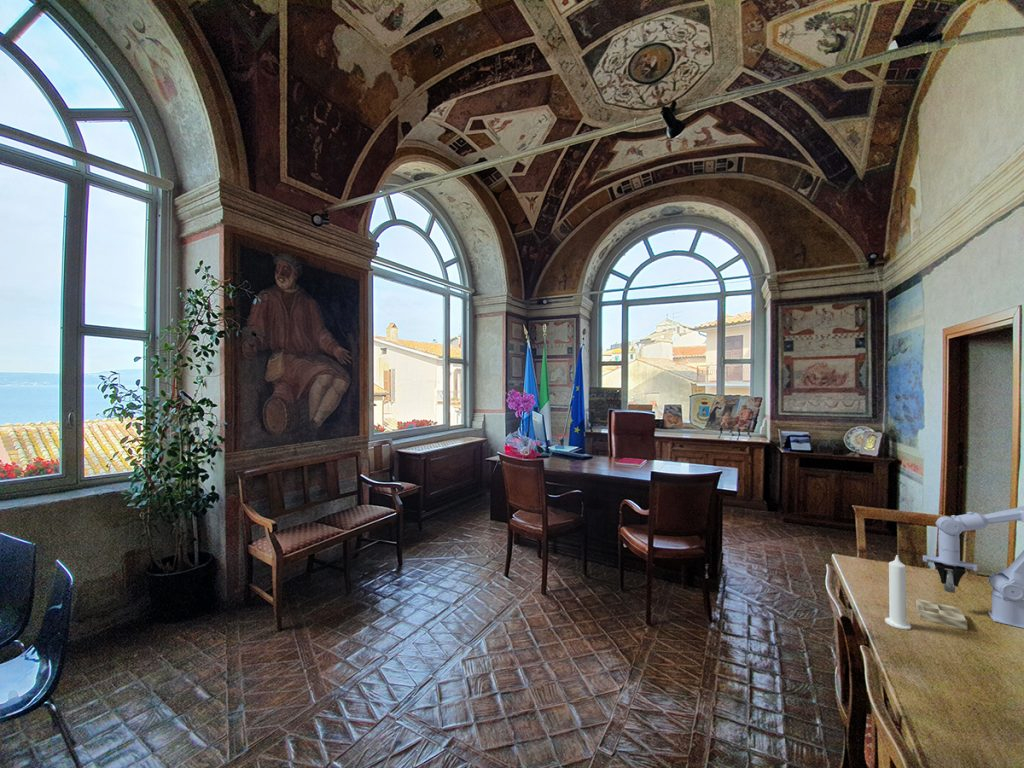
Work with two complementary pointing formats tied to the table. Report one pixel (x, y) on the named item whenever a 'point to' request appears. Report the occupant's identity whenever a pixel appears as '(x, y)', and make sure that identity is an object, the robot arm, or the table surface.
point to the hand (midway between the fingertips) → (949, 584)
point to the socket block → (941, 614)
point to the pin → (949, 580)
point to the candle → (897, 595)
